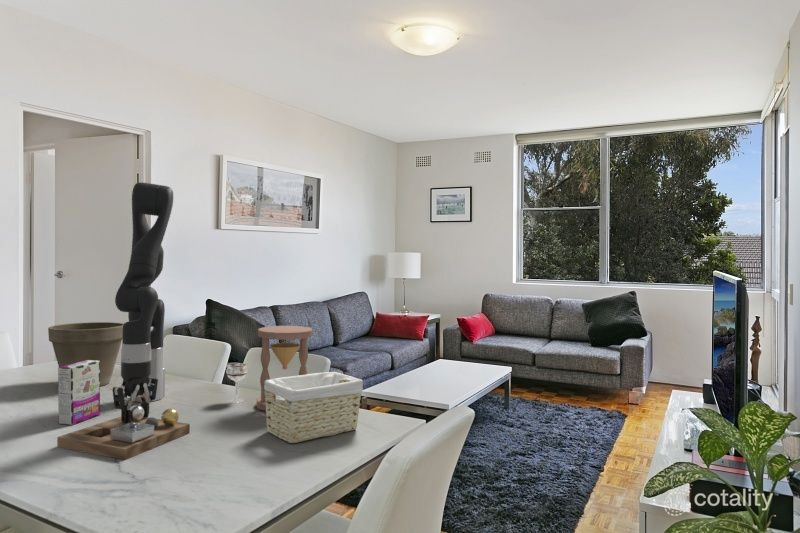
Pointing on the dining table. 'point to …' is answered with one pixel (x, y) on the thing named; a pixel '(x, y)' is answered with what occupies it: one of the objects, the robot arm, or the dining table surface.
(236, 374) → the wineglass
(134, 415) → the steel ball
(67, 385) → the candy bar box
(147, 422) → the black rubber ball
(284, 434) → the storage basket
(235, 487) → the dining table surface
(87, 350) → the plant pot
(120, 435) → the steel cover
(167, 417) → the brass ball
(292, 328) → the hourglass
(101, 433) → the walnut board
